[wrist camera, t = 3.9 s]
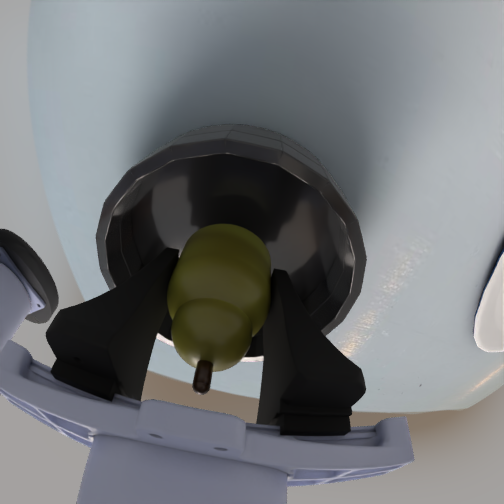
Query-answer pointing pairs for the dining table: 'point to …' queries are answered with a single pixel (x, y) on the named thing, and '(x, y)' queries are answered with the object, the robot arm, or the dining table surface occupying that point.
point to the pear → (218, 298)
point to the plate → (491, 312)
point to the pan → (239, 215)
